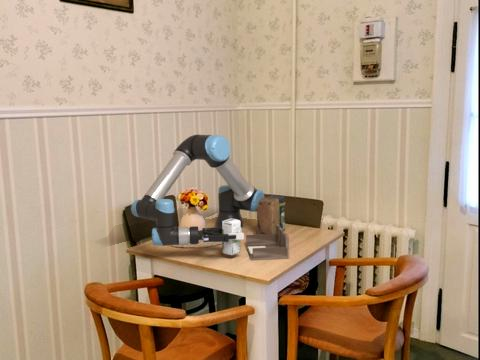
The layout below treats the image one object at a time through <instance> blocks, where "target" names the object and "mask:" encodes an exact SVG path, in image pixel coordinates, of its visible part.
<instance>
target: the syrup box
mask: <svg viewBox="0 0 480 360" xmlns="http://www.w3.org/2000/svg"><path fill="white" fill-rule="evenodd" d="M228 233H241V221H240V220H237V219H228V220H224V221H222V234H228ZM228 241H229V242H221V243H222V244H221V248H222V249H221V251H222V254H225V255H229V256H234V255H236V254H239V253H241V239H240V240H228Z"/></svg>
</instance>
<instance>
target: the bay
mask: <svg viewBox="0 0 480 360" xmlns="http://www.w3.org/2000/svg"><path fill="white" fill-rule="evenodd" d="M245 236H246V237H245V238H246V240H245V243H244V247H245V249H246V251H247V253H248V255H249V258H250V260H251V261H269V260H270V261H272V260H289V259H290V254H289V253H290V236H288V234H287V233H286V232H285V230H283V229H282V228H281V227H280V226H279V224H278V225H276V234H245Z"/></svg>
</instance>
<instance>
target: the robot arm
mask: <svg viewBox="0 0 480 360" xmlns="http://www.w3.org/2000/svg"><path fill="white" fill-rule="evenodd" d="M230 155H231V144H230V143H229V140H228V139H227V138H226V137H225V136H222V135H219V134H193V135H191V136H188V137H187V138H186V139H184V140H183V141H182V142H181V143H180V144H179V145H178V146H177V147H176V149H174V151H173V153H172V158H171V159H170V160H169V161H168V163H167V164H166V166H165V167H164V168H163V170H162V171H161V172H160V174H159V175H158V177H156V179H155V180H154V182H153V183H152V185H151V186H150V187H149V189H148V190H147V191H146V192H145V194H144V195H143V197H142V198H141V199H136V200H134V201H133V202H132V203H131V206H130V211H131V214H132V215H133V216H134V217H137V218H140V219H147V220H151V221H155V224H156V226H155V227H153V228H152V230H151V243H152V245H153V246H155V247H156V246H158V247H159V246H161V247H164V246H179V245H180V246H183V247H184V245H186V246H187V245H198V244H200V243H199V241H200V240H201V241H203V242H202V243H210V242H211V243H217V242H218V243H220V242H221V243H222V242H229V241H228V240H240V241H241V240H245V233H244V232H242V231H243V230H242V228H243V227H244V221H243V217H242V214H241V211H242V210H243V211H247V212H255V213H257V206H258V202H259V200H260V199H262V198H264V197H265V193H264V191H263V190H262V189H259V188H258V189H257V188H255V185H254V184H253V183H251V182H248V181H247V180H246V178H245V177H244V176H243V174H242V172H241V171H240V170H239V168H238V167H237V165H235V163H234V161H233V160H232V159H231V157H230ZM196 160H203V161H205V162H206V164H207V165H208V166H209V167H211V168H212V169H215V170H216V171H217V172H218V174H220V176H221V177H222V179H223V180H224V182H226V183H225V184H224V185H221V186H219V187H218V193H217V195H218V197H217V198H218V214H217V216H216V220H215V227H203V228H201V230H199V226H194V225H193V226H189V227H188V226H175V207H174V206H175V205H174V201H173V200H172V199H170V198H165V196H166V195H167V193H168V192H169V191H170V190H171V188H172V187H173V185H174V184H175V183H176V181H177V180H178V178H179V177H180V176H181V174H182V173H183V171H184V170H185V168H186V167H187V166H190V165H191V164H192V163H193V161H196ZM228 219H237V220H240V221H241V233H228V234H222V221H224V220H228Z"/></svg>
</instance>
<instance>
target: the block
mask: <svg viewBox="0 0 480 360" xmlns="http://www.w3.org/2000/svg"><path fill="white" fill-rule="evenodd" d="M256 220H257V224H256V233H257V234H276V225H278V224H279V226H280V210H279V200H278V199H277V198H272V197H268V196H264V198H262V199H260V200H259V202H258V206H257V212H256ZM257 234H256V235H257Z"/></svg>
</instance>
